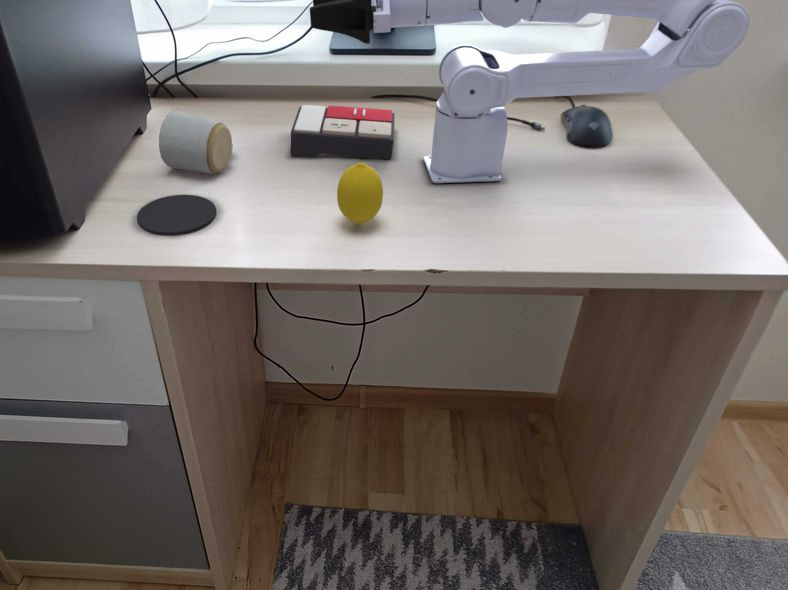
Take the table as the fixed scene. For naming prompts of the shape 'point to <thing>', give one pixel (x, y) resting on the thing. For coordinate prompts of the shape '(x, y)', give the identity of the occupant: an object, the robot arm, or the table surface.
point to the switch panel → (343, 132)
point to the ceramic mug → (194, 143)
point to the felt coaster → (176, 214)
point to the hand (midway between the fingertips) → (311, 6)
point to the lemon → (360, 193)
